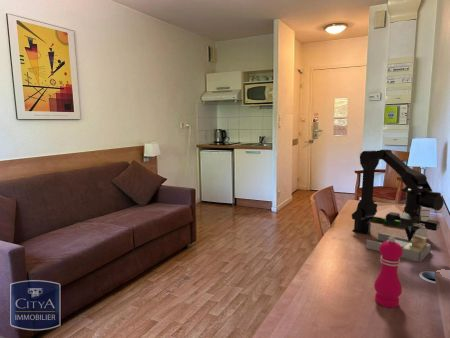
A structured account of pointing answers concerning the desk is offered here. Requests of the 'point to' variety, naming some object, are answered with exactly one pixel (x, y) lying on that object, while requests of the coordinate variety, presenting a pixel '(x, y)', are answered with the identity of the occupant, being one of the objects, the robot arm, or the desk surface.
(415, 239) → the wooden cube
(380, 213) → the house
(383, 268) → the pepper mill
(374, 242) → the tray
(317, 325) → the desk surface
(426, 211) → the syrup box
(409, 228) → the robot arm
